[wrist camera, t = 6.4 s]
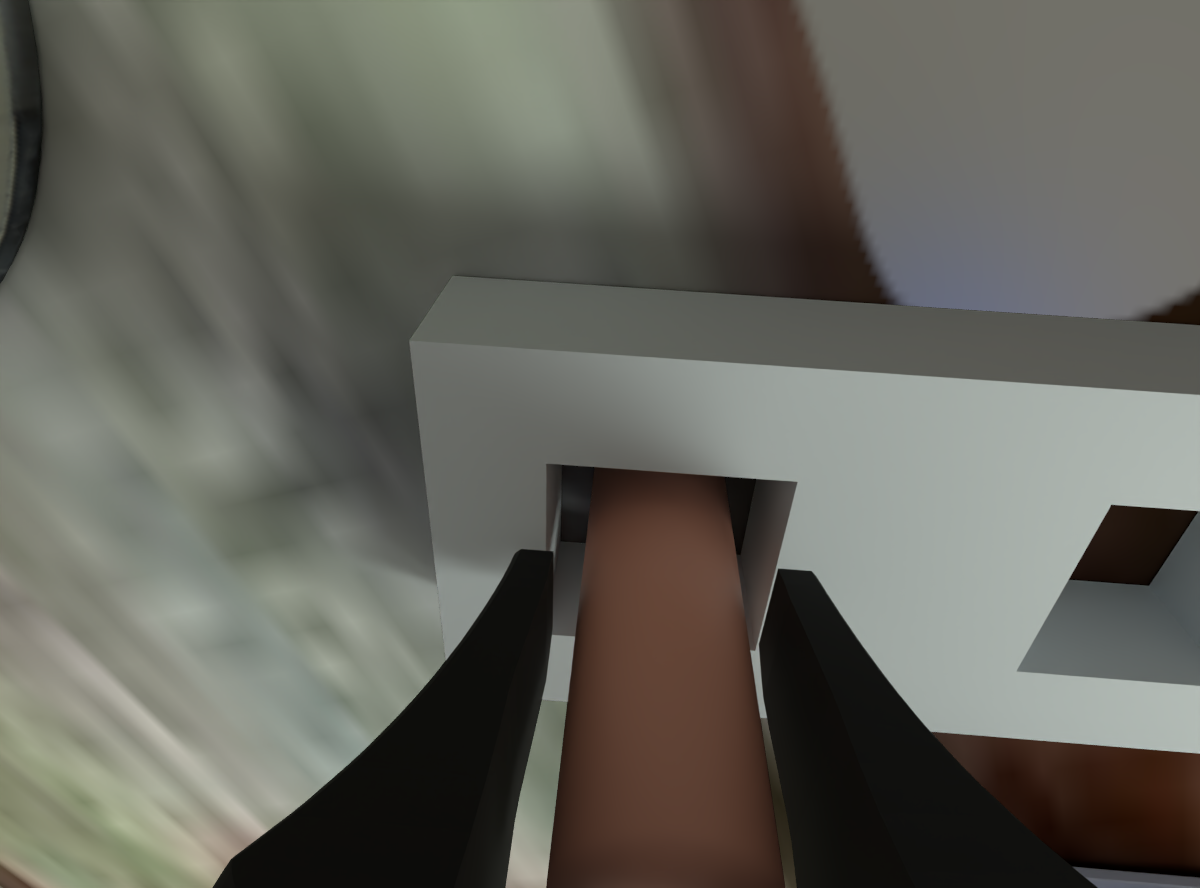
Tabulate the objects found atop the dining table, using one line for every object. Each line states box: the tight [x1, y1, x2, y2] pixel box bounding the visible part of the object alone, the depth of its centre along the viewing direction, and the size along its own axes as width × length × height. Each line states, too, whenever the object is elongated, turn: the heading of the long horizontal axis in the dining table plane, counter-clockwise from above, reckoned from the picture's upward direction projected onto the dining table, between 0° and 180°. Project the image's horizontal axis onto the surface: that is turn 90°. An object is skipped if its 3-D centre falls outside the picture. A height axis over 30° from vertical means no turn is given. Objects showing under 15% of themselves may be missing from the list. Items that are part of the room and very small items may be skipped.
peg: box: [546, 467, 785, 888], centre depth 13 cm, size 3×3×9 cm
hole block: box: [409, 276, 1200, 753], centre depth 15 cm, size 19×9×3 cm, turn 88°
